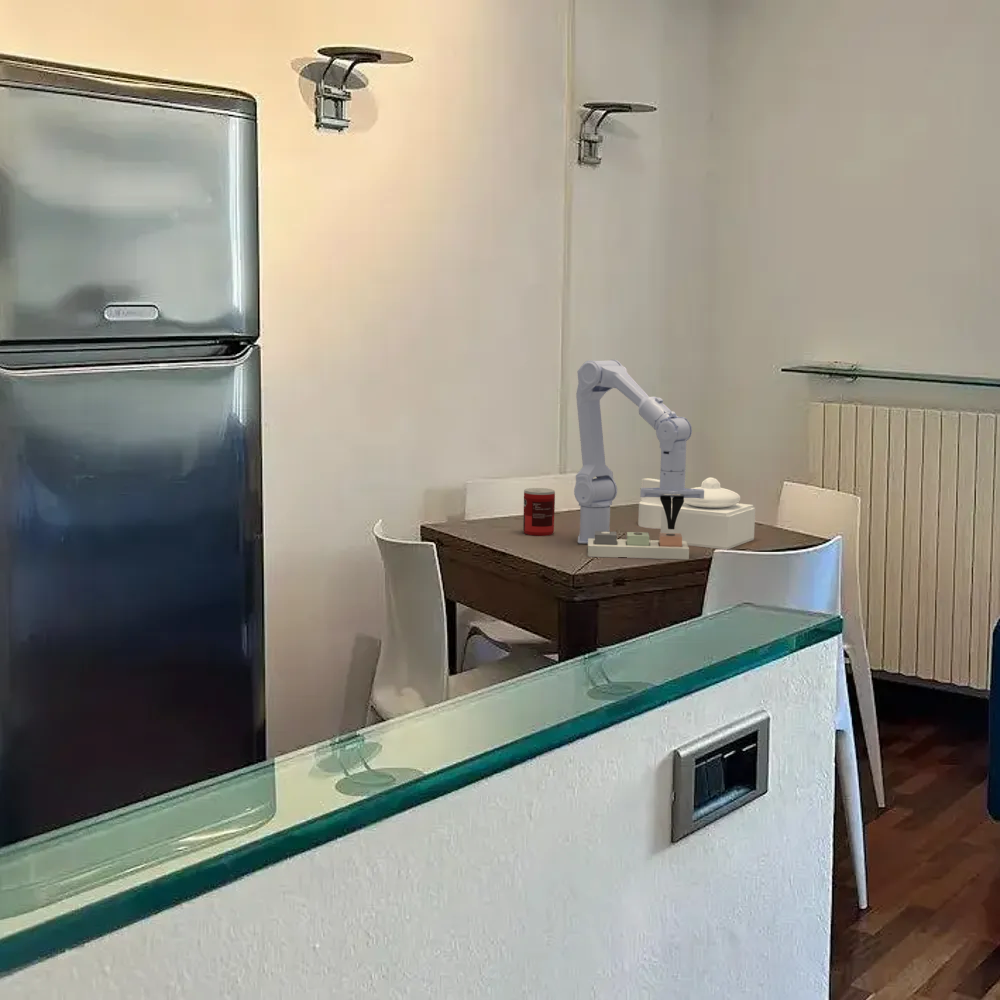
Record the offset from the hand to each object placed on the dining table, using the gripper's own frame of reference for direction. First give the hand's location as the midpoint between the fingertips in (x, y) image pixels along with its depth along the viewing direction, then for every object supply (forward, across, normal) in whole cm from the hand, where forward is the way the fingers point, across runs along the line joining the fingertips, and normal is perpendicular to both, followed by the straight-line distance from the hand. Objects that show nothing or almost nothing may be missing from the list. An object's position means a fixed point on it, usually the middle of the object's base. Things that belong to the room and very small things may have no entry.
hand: (671, 528), depth 316 cm
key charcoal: (+5, -15, 0) cm, 16 cm away
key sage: (+5, -8, 0) cm, 9 cm away
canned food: (+6, -32, +25) cm, 41 cm away
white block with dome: (+7, +10, +21) cm, 24 cm away
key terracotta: (+5, 0, 0) cm, 5 cm away
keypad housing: (+6, -8, 0) cm, 10 cm away
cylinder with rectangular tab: (+6, -2, +42) cm, 43 cm away
